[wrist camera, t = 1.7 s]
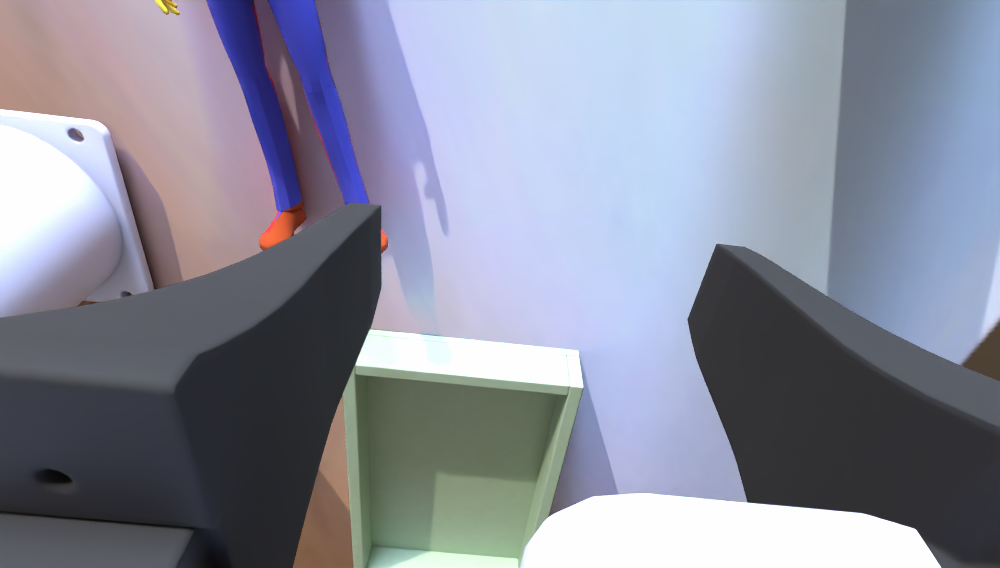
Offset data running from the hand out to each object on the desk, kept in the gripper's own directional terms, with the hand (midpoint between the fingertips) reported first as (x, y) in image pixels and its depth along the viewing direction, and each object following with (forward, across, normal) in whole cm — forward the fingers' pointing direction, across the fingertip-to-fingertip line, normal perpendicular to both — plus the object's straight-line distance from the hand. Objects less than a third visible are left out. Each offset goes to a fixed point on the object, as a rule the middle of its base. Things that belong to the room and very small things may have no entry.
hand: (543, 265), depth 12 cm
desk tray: (+9, +1, +18) cm, 21 cm away
